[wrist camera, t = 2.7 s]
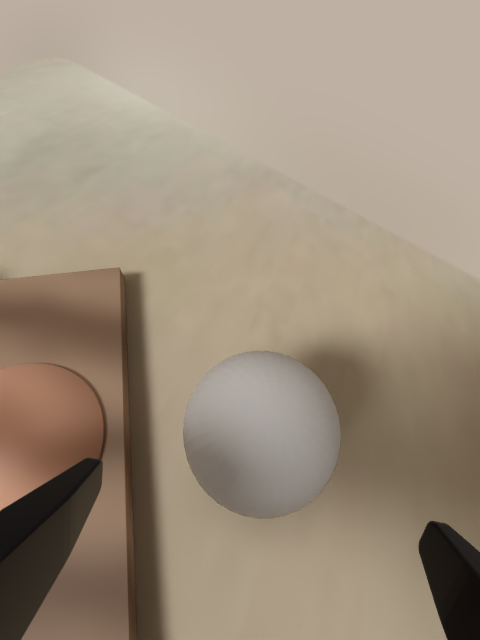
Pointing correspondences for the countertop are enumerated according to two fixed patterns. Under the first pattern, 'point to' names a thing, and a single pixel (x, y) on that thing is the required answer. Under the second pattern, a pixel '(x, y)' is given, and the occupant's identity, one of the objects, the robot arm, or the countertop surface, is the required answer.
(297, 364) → the light bulb
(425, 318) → the countertop surface
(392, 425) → the countertop surface
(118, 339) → the board
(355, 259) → the countertop surface
